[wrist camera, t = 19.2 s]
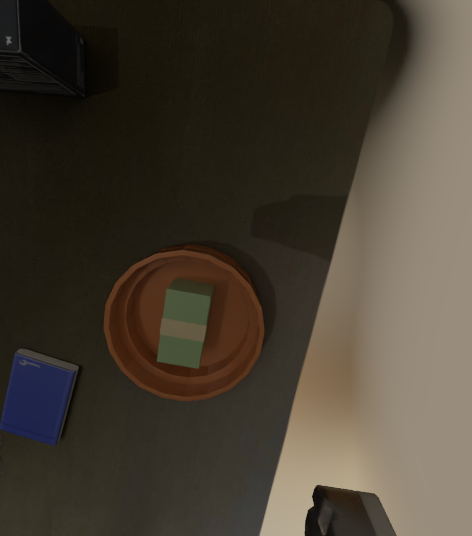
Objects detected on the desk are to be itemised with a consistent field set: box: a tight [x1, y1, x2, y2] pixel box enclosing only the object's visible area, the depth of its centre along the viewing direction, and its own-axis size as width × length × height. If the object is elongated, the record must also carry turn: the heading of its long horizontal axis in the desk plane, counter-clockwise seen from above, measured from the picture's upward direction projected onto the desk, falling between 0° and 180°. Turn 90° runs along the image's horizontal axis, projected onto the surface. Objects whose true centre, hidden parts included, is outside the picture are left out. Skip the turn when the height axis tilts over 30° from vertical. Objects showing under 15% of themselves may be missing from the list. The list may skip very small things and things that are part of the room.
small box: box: [0, 0, 86, 98], centre depth 29 cm, size 11×6×10 cm, turn 85°
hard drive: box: [0, 349, 79, 445], centre depth 42 cm, size 2×8×12 cm
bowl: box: [103, 244, 265, 401], centre depth 37 cm, size 18×18×6 cm
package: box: [157, 278, 215, 369], centre depth 37 cm, size 5×9×5 cm, turn 170°
